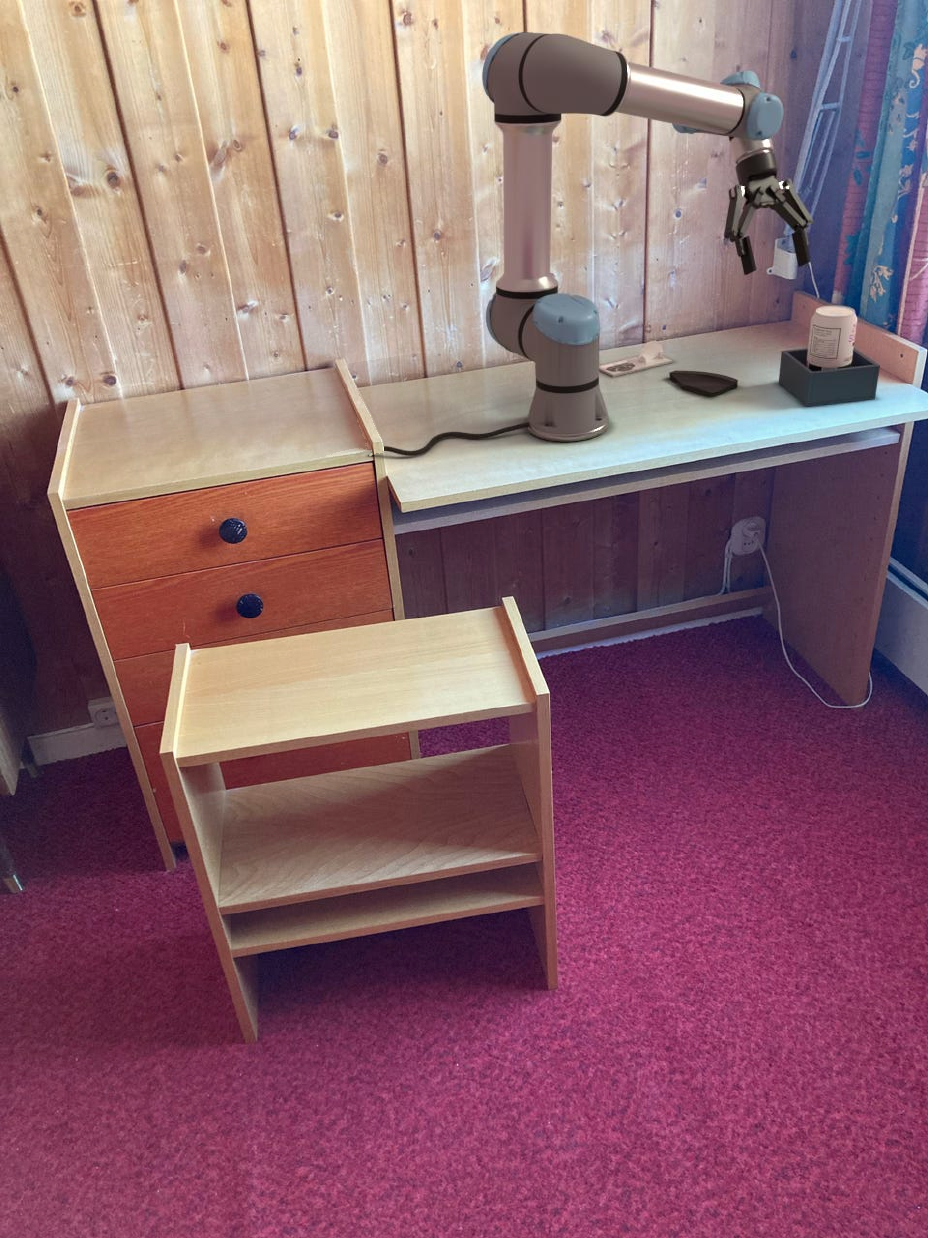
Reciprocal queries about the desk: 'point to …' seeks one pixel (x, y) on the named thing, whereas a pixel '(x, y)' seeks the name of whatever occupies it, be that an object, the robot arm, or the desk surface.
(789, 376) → the bin
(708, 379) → the fan shaped piece
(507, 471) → the desk surface
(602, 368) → the white plate with bracket
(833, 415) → the desk surface
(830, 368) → the supplement can
